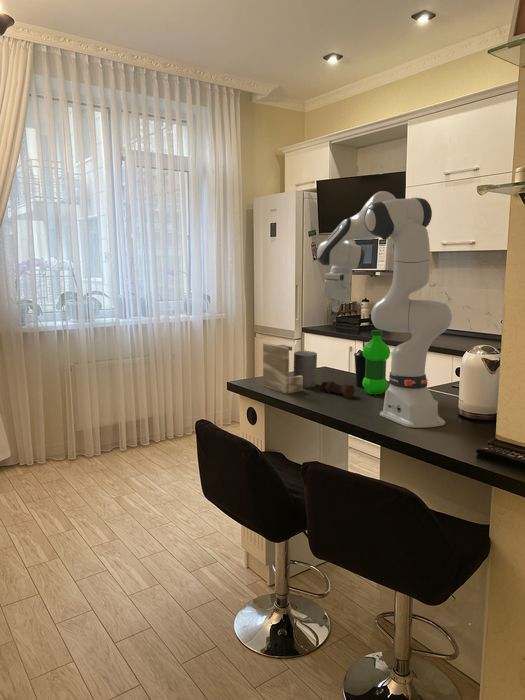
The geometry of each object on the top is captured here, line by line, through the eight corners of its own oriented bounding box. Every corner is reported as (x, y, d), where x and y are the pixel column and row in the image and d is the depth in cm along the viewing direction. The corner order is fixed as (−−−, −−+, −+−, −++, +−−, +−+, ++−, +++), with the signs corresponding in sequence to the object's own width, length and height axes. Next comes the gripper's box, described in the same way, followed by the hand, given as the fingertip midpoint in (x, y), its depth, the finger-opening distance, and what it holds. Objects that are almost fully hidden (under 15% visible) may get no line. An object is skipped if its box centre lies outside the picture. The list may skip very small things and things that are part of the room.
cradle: (280, 383, 228) (280, 341, 225) (303, 391, 215) (304, 346, 212) (263, 385, 224) (263, 343, 221) (285, 393, 210) (285, 348, 207)
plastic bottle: (363, 396, 207) (365, 332, 203) (360, 389, 217) (362, 328, 213) (389, 396, 206) (392, 332, 202) (385, 390, 217) (387, 328, 212)
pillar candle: (289, 383, 228) (289, 349, 225) (308, 381, 232) (309, 347, 229) (301, 388, 219) (301, 352, 217) (321, 386, 224) (321, 350, 221)
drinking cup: (351, 387, 221) (353, 339, 217) (354, 383, 228) (355, 337, 225) (370, 389, 219) (372, 340, 215) (372, 384, 226) (374, 337, 222)
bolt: (324, 394, 218) (351, 400, 206) (316, 389, 215) (343, 396, 203) (330, 381, 219) (356, 386, 207) (321, 376, 216) (348, 382, 204)
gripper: (343, 281, 231) (338, 313, 231) (322, 273, 213) (317, 307, 214) (356, 283, 227) (351, 315, 228) (337, 274, 210) (331, 309, 210)
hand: (334, 311), depth 221 cm, fingers closed
